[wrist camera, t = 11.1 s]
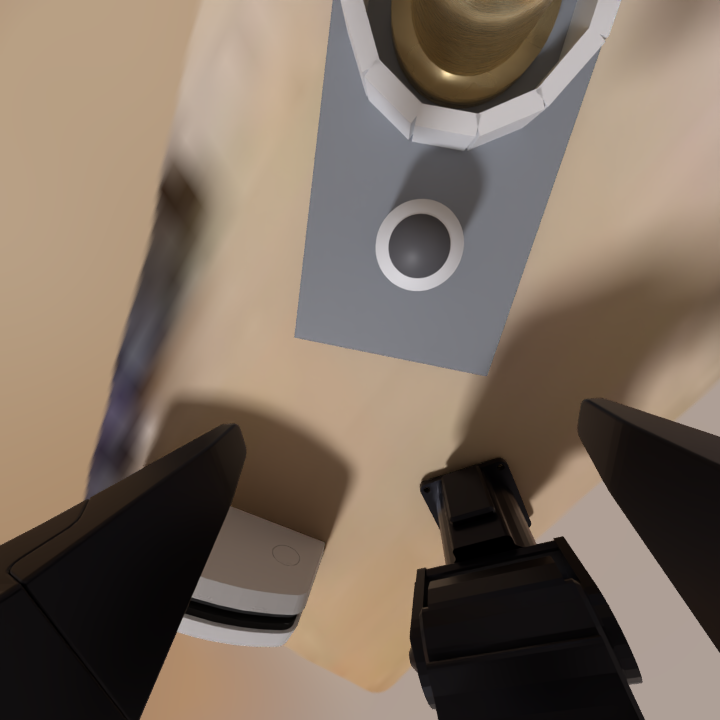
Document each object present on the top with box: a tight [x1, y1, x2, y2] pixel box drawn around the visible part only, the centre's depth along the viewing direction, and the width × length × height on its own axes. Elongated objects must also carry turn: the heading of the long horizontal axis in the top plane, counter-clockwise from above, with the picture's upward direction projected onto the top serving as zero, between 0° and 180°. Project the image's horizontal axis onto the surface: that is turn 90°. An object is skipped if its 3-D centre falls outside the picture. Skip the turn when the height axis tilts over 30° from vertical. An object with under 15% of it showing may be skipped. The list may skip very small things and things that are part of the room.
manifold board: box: [295, 0, 621, 376], centre depth 16 cm, size 23×12×5 cm, turn 170°
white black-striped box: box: [177, 506, 325, 647], centre depth 25 cm, size 17×5×10 cm, turn 68°
